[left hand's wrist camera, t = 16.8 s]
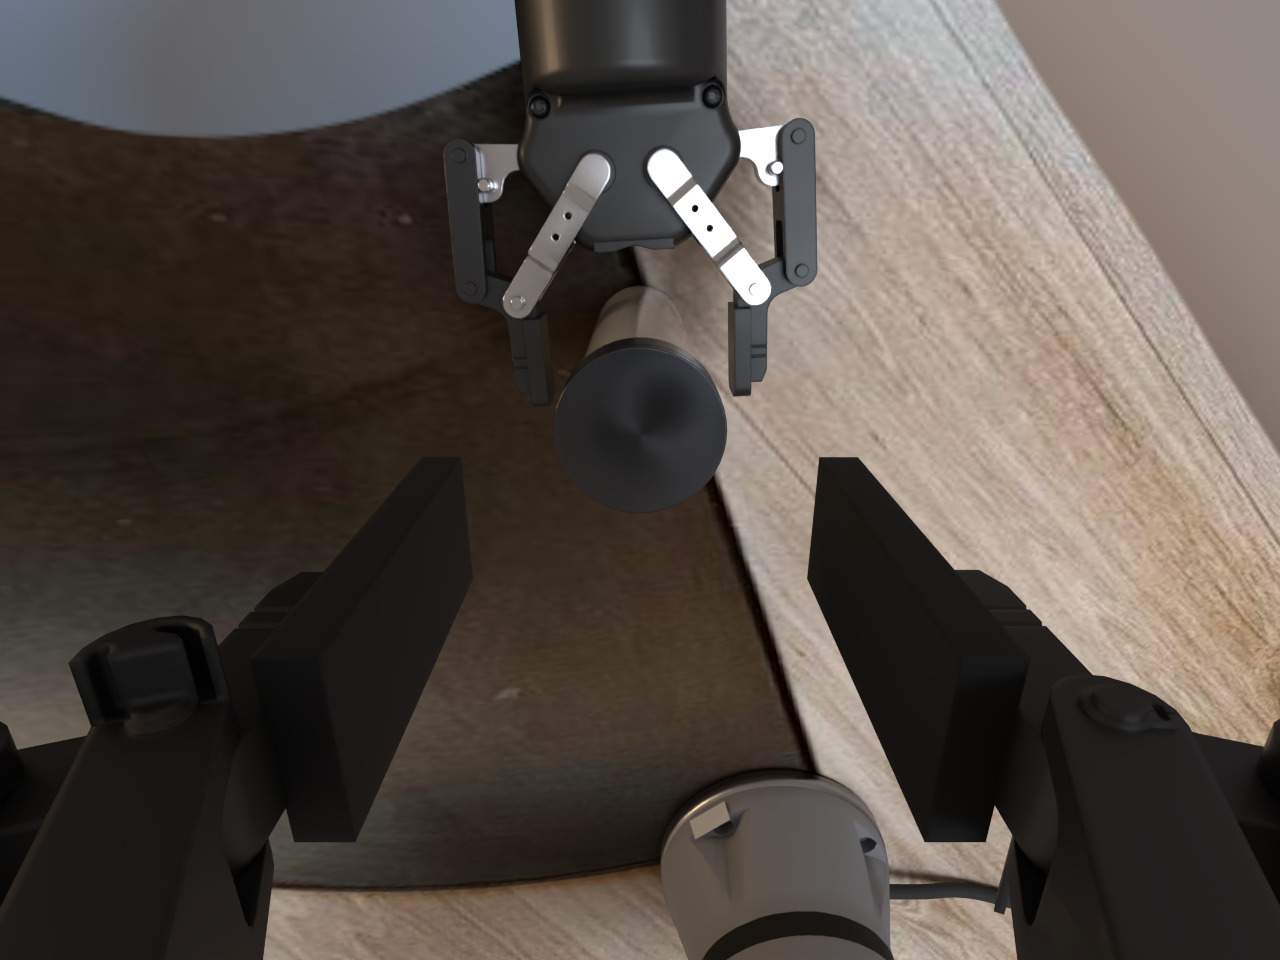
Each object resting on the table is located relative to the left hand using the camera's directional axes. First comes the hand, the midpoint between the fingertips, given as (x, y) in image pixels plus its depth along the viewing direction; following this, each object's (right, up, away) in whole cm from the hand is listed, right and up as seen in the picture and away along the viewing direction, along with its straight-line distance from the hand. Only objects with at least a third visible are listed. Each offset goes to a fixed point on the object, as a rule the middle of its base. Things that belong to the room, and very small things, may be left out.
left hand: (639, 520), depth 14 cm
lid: (0, +2, +6) cm, 6 cm away
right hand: (0, +4, +16) cm, 17 cm away
